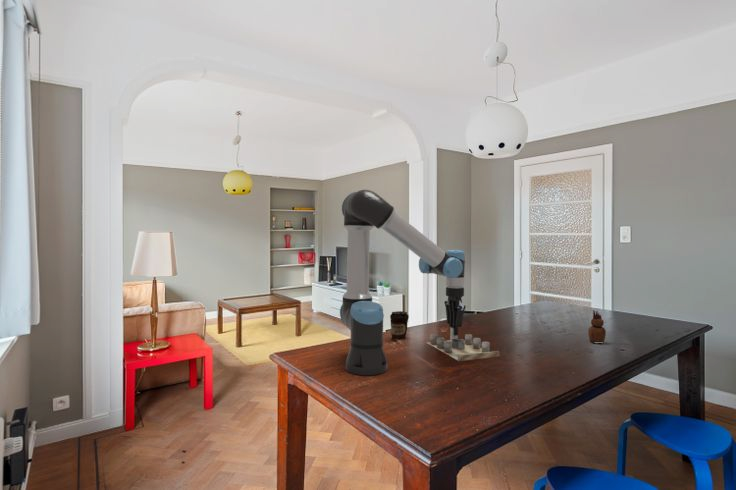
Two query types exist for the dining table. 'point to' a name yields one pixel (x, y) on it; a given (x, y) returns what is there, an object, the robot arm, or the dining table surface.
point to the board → (468, 353)
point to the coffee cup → (398, 325)
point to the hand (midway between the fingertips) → (453, 342)
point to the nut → (458, 344)
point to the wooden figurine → (597, 329)
